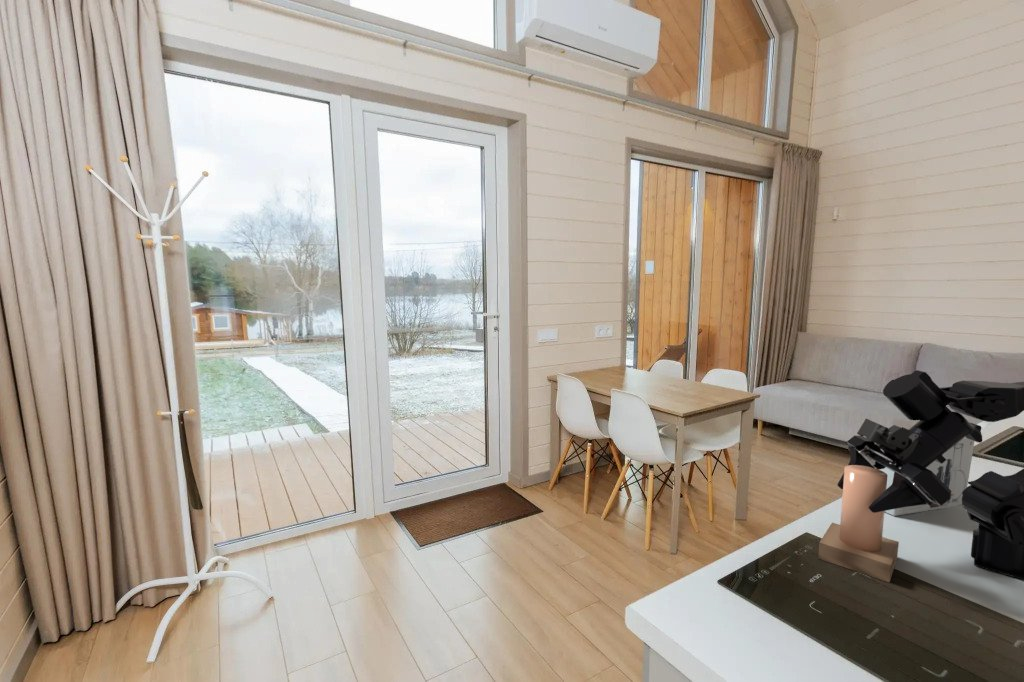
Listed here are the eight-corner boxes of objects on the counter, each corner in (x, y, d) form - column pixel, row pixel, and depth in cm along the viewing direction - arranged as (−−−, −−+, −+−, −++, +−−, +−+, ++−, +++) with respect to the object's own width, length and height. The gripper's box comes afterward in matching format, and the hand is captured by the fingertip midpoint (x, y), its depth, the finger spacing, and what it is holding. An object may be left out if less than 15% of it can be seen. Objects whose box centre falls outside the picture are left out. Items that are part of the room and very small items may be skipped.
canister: (889, 546, 83) (895, 474, 81) (867, 554, 80) (873, 480, 79) (853, 530, 88) (858, 463, 87) (831, 537, 86) (836, 468, 84)
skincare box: (896, 518, 99) (903, 444, 97) (870, 506, 104) (876, 436, 103) (968, 505, 105) (976, 435, 103) (940, 495, 110) (947, 428, 108)
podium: (897, 557, 85) (898, 541, 84) (889, 582, 78) (891, 565, 77) (830, 537, 92) (832, 522, 91) (818, 558, 85) (819, 542, 84)
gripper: (861, 393, 90) (796, 447, 93) (937, 420, 72) (853, 487, 74) (903, 435, 90) (836, 488, 93) (989, 473, 72) (903, 538, 74)
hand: (854, 498), depth 84 cm, fingers open, 9 cm apart
